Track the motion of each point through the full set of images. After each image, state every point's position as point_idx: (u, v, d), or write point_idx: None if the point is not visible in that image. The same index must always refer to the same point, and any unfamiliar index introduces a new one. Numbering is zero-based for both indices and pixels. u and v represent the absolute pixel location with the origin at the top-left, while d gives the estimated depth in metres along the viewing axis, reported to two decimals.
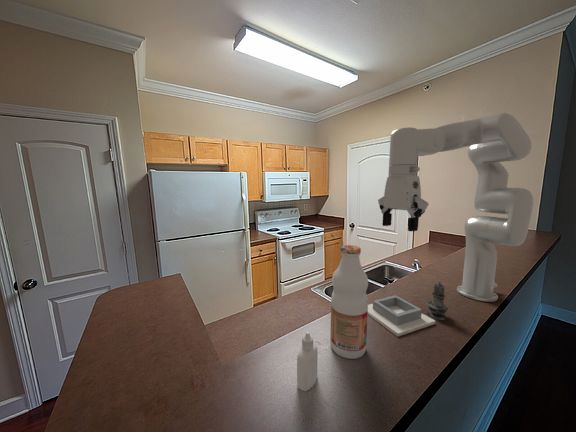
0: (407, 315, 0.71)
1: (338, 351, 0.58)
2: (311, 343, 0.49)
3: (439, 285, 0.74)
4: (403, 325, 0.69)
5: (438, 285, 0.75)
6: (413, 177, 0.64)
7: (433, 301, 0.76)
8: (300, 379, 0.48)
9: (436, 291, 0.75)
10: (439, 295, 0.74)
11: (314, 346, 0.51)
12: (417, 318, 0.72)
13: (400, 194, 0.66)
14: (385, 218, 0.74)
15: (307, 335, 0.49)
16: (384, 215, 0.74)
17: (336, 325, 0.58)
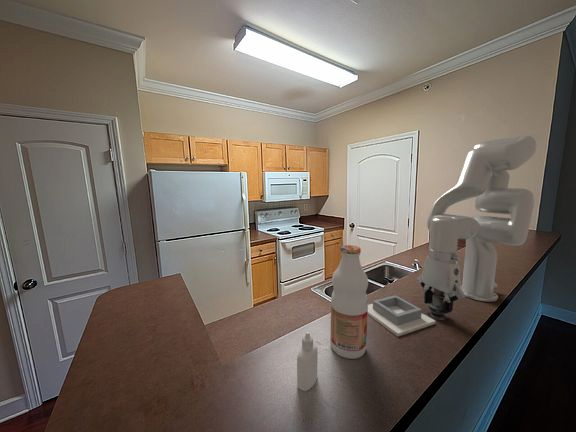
0: (407, 315, 0.71)
1: (338, 351, 0.58)
2: (311, 343, 0.49)
3: None
4: (403, 325, 0.69)
5: None
6: (454, 265, 0.70)
7: (433, 301, 0.76)
8: (300, 379, 0.48)
9: (436, 291, 0.75)
10: (439, 296, 0.74)
11: (314, 346, 0.51)
12: (417, 318, 0.72)
13: (441, 278, 0.72)
14: (427, 297, 0.78)
15: (307, 335, 0.49)
16: (426, 294, 0.78)
17: (336, 325, 0.58)
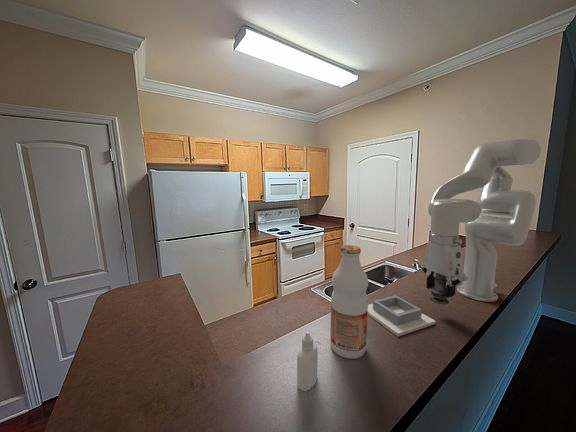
0: (407, 315, 0.71)
1: (338, 351, 0.58)
2: (311, 343, 0.49)
3: None
4: (403, 325, 0.69)
5: None
6: (456, 248, 0.69)
7: (435, 286, 0.75)
8: (300, 379, 0.48)
9: (438, 276, 0.74)
10: (441, 280, 0.74)
11: (314, 346, 0.51)
12: (417, 318, 0.72)
13: (443, 262, 0.71)
14: (429, 282, 0.78)
15: (307, 335, 0.49)
16: (428, 279, 0.78)
17: (336, 325, 0.58)
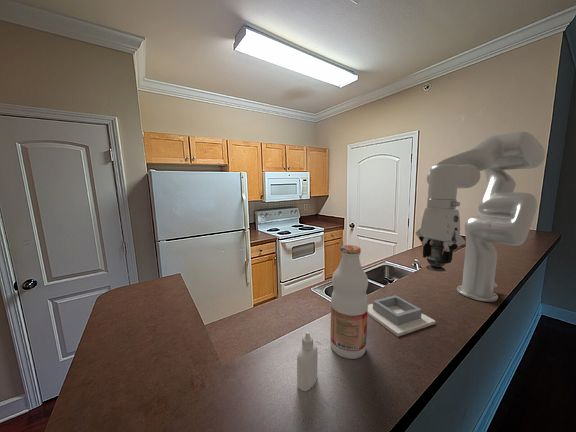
0: (407, 315, 0.71)
1: (338, 351, 0.58)
2: (311, 343, 0.49)
3: None
4: (403, 325, 0.69)
5: None
6: (454, 211, 0.67)
7: (432, 253, 0.73)
8: (300, 379, 0.48)
9: (435, 242, 0.72)
10: (438, 246, 0.72)
11: (314, 346, 0.51)
12: (417, 318, 0.72)
13: (440, 226, 0.70)
14: (426, 250, 0.76)
15: (307, 335, 0.49)
16: (425, 247, 0.76)
17: (336, 325, 0.58)
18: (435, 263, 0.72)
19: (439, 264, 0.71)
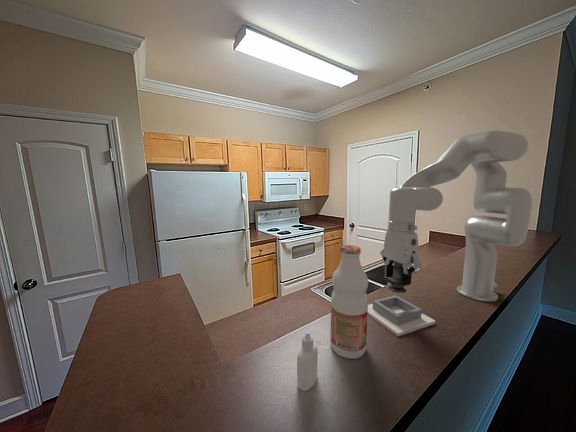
0: (407, 315, 0.71)
1: (338, 351, 0.58)
2: (311, 343, 0.49)
3: None
4: (403, 325, 0.69)
5: None
6: (411, 235, 0.68)
7: (393, 274, 0.74)
8: (300, 379, 0.48)
9: (396, 264, 0.73)
10: (398, 268, 0.73)
11: (314, 346, 0.51)
12: (417, 318, 0.72)
13: (399, 249, 0.70)
14: (388, 271, 0.76)
15: (307, 335, 0.49)
16: (387, 268, 0.76)
17: (336, 325, 0.58)
18: (395, 284, 0.73)
19: (399, 285, 0.72)
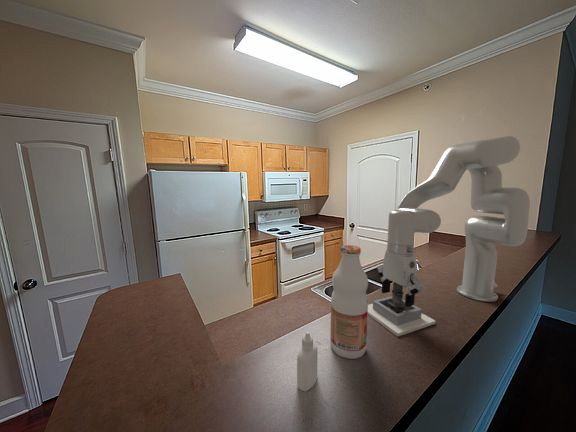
0: (407, 315, 0.71)
1: (338, 351, 0.58)
2: (311, 343, 0.49)
3: None
4: (403, 325, 0.69)
5: None
6: (410, 258, 0.69)
7: (392, 298, 0.75)
8: (300, 379, 0.48)
9: (395, 288, 0.74)
10: (397, 293, 0.74)
11: (314, 346, 0.51)
12: (417, 318, 0.72)
13: (398, 271, 0.71)
14: (384, 286, 0.79)
15: (307, 335, 0.49)
16: (383, 283, 0.79)
17: (336, 325, 0.58)
18: (395, 309, 0.74)
19: (398, 310, 0.73)
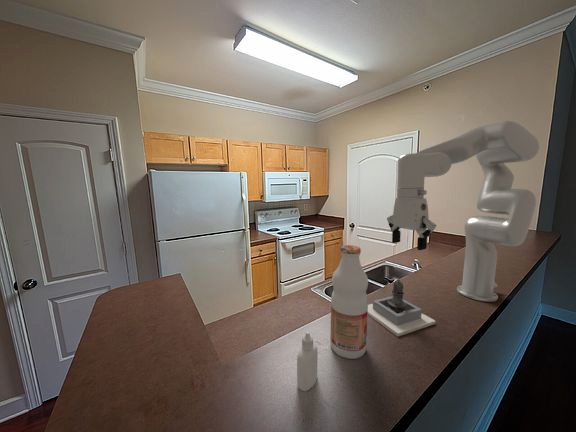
0: (407, 315, 0.71)
1: (338, 351, 0.58)
2: (311, 343, 0.49)
3: (398, 283, 0.74)
4: (403, 325, 0.69)
5: (397, 283, 0.74)
6: (421, 200, 0.68)
7: (392, 299, 0.75)
8: (300, 379, 0.48)
9: (395, 289, 0.74)
10: (397, 293, 0.74)
11: (314, 346, 0.51)
12: (417, 318, 0.72)
13: (409, 215, 0.71)
14: (394, 236, 0.78)
15: (307, 335, 0.49)
16: (393, 233, 0.78)
17: (336, 325, 0.58)
18: (395, 309, 0.74)
19: (398, 310, 0.73)
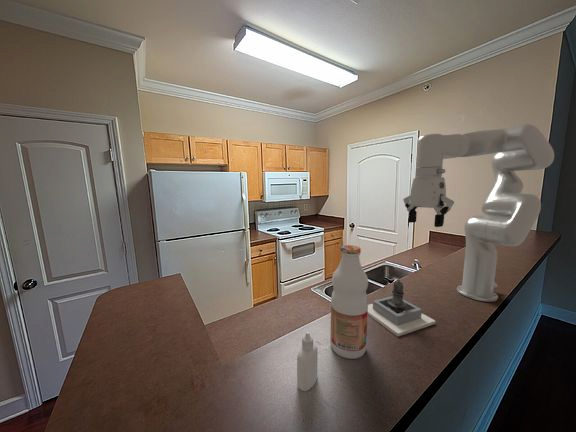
0: (407, 315, 0.71)
1: (338, 351, 0.58)
2: (311, 343, 0.49)
3: (398, 283, 0.74)
4: (403, 325, 0.69)
5: (397, 283, 0.74)
6: (439, 178, 0.71)
7: (393, 299, 0.75)
8: (300, 379, 0.48)
9: (395, 289, 0.74)
10: (397, 293, 0.74)
11: (314, 346, 0.51)
12: (417, 318, 0.72)
13: (427, 193, 0.74)
14: (411, 215, 0.81)
15: (307, 335, 0.49)
16: (410, 213, 0.81)
17: (336, 325, 0.58)
18: (395, 309, 0.74)
19: (398, 310, 0.73)
